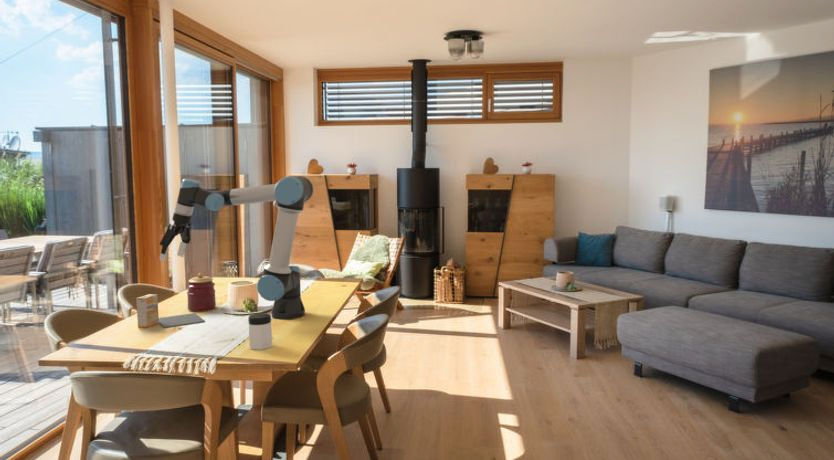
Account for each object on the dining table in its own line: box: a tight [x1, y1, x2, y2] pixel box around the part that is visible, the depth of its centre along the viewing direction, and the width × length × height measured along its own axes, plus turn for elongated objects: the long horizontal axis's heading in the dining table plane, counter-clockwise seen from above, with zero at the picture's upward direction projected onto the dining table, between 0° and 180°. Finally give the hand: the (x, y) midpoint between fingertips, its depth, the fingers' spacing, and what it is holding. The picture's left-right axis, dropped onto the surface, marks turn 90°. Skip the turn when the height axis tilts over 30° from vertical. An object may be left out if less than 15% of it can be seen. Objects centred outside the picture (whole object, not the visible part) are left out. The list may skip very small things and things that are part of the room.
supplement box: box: [136, 293, 160, 329], centre depth 253 cm, size 8×5×13 cm, turn 168°
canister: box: [186, 272, 217, 312], centre depth 283 cm, size 13×13×18 cm
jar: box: [248, 312, 273, 351], centre depth 220 cm, size 9×8×12 cm
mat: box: [158, 312, 206, 329], centre depth 261 cm, size 18×17×1 cm
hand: (171, 258), depth 261 cm, fingers open, 13 cm apart
